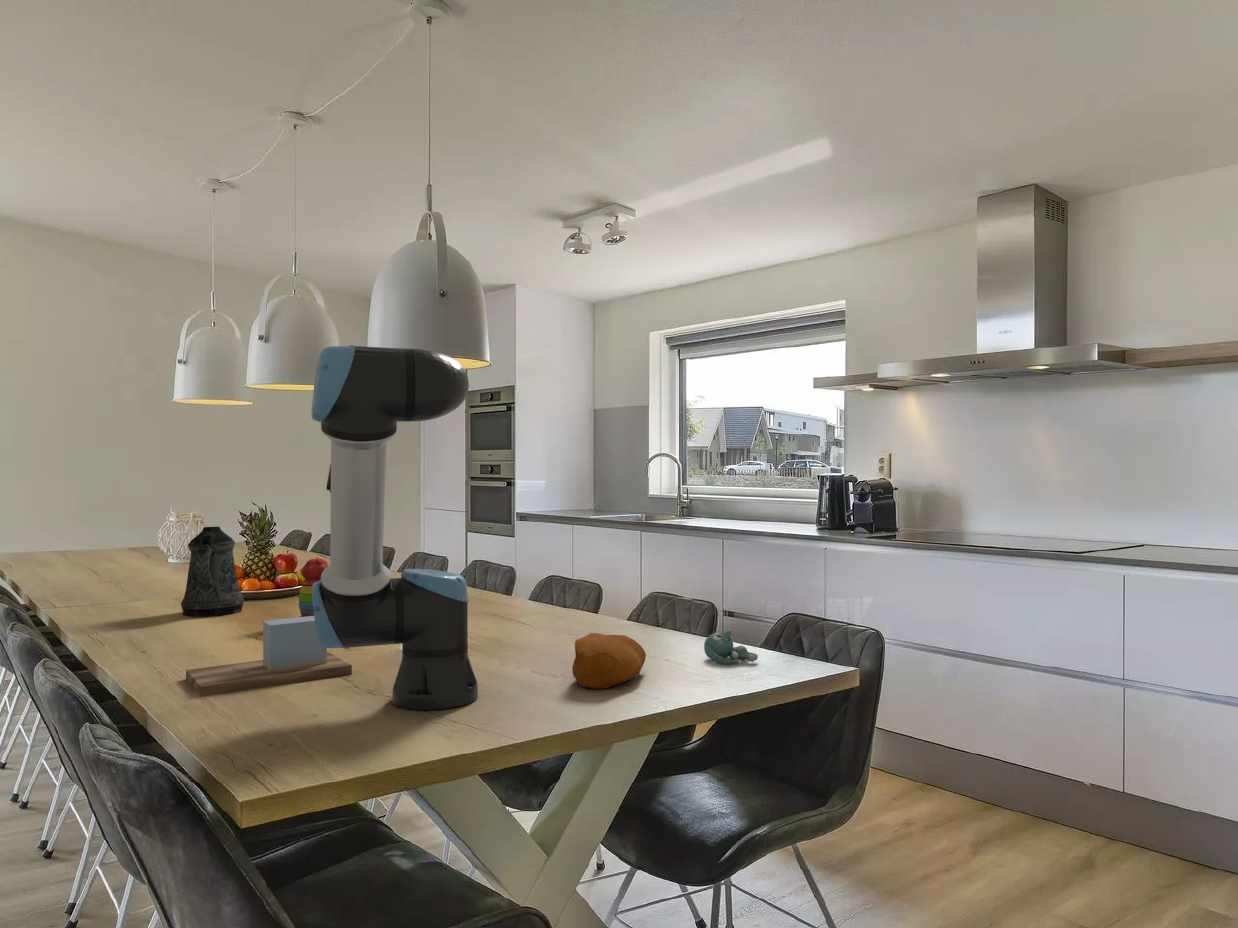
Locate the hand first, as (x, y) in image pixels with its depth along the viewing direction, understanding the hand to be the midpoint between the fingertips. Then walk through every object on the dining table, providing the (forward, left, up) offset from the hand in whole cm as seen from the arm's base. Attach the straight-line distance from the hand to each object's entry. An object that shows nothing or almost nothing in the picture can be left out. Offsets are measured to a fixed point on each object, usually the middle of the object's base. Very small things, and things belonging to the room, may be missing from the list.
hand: (349, 524), depth 179 cm
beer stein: (+92, +9, -30) cm, 98 cm away
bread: (-41, -38, -30) cm, 64 cm away
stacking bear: (+56, -9, -30) cm, 65 cm away
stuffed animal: (-43, -68, -30) cm, 86 cm away
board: (+3, +15, -30) cm, 34 cm away
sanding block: (+3, +10, -28) cm, 30 cm away
